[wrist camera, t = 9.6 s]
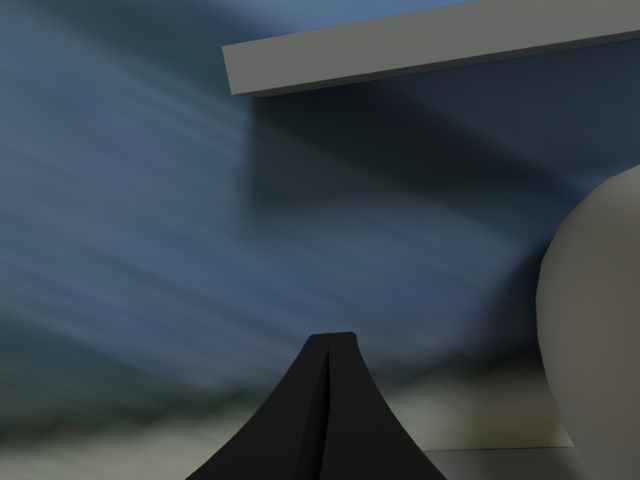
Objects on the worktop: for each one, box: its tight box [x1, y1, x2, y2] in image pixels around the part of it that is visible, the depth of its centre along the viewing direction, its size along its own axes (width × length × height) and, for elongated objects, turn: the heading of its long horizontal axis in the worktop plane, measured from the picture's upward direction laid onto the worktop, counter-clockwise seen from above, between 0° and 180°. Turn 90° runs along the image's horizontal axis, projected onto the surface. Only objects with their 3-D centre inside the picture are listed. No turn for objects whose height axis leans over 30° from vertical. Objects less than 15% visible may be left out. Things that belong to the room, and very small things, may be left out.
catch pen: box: [222, 0, 640, 480], centre depth 11 cm, size 17×19×3 cm
